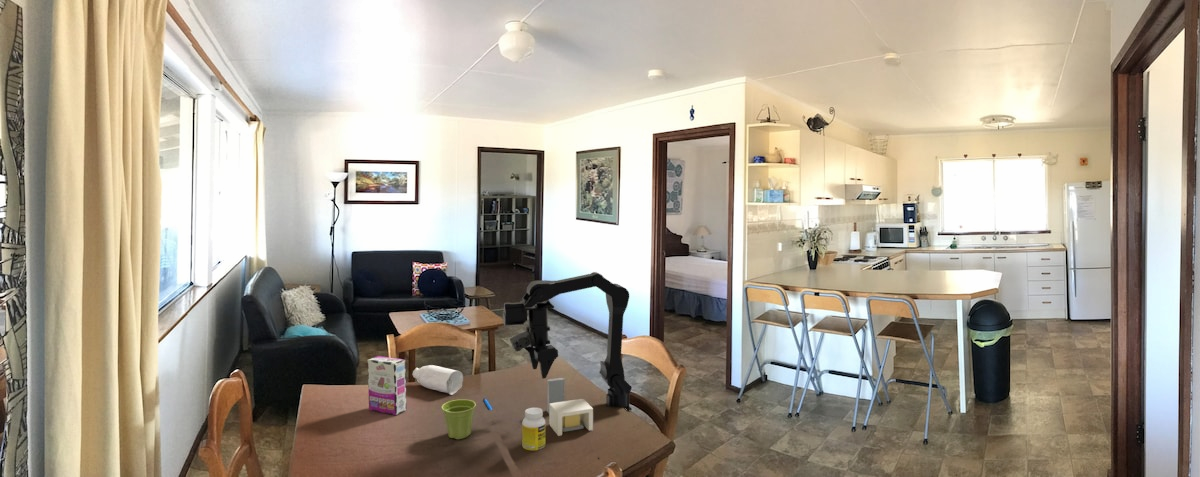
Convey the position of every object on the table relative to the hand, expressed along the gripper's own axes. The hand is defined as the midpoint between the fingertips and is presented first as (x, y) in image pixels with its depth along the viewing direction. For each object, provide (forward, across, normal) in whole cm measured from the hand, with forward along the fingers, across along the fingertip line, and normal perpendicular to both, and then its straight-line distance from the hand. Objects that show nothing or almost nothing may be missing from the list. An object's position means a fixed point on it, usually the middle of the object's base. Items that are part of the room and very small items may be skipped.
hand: (539, 373), depth 173 cm
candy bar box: (+13, -23, -42) cm, 50 cm away
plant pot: (+14, +3, -25) cm, 29 cm away
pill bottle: (+14, +20, -8) cm, 26 cm away
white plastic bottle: (+13, -36, -26) cm, 46 cm away
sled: (+13, +8, +5) cm, 16 cm away
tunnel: (+14, +10, +5) cm, 18 cm away
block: (+12, +13, +5) cm, 18 cm away
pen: (+14, -12, -13) cm, 22 cm away
